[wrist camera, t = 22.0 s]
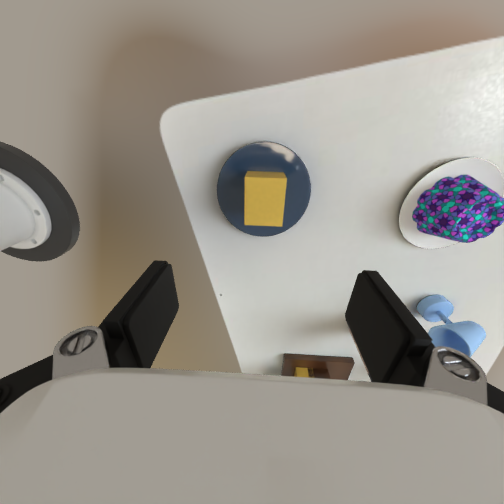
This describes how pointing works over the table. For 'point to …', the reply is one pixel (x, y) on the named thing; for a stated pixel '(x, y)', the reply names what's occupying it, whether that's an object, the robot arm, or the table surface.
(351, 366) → the slicer
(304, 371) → the butter
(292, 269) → the table surface
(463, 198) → the pudding
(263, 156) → the plate
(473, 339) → the spotlight
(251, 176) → the butter pat
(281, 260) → the table surface
